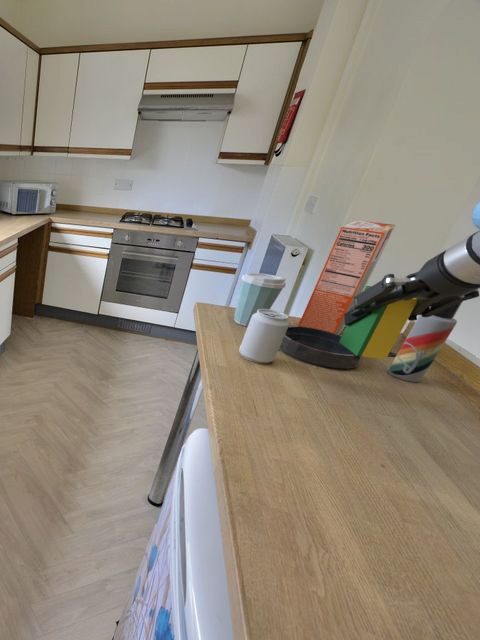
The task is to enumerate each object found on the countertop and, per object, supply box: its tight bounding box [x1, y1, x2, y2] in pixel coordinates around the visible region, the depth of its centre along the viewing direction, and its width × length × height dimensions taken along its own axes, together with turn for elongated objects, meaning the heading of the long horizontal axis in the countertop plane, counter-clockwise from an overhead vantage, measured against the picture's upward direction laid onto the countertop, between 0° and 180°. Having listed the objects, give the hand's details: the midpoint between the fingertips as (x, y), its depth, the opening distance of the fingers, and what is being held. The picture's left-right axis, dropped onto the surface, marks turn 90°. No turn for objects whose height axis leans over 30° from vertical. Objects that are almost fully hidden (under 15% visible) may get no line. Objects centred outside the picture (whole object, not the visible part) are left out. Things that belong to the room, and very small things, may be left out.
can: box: [238, 308, 290, 364], centre depth 98 cm, size 8×8×12 cm
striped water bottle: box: [387, 302, 463, 383], centre depth 92 cm, size 6×6×20 cm
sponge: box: [339, 285, 417, 361], centre depth 84 cm, size 5×7×13 cm
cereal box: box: [297, 219, 397, 335], centre depth 113 cm, size 23×8×30 cm, turn 131°
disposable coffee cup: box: [233, 272, 287, 328], centre depth 119 cm, size 11×11×15 cm
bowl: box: [279, 325, 364, 370], centre depth 104 cm, size 17×17×4 cm
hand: (362, 321), depth 88 cm, fingers closed on sponge, 5 cm apart
